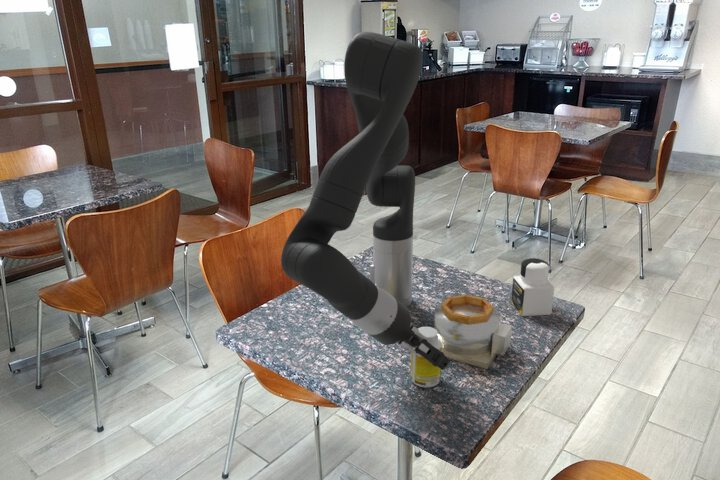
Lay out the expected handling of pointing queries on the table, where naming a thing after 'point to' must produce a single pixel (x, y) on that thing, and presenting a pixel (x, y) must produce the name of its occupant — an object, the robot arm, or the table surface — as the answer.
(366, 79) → the robot arm
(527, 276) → the medicine bottle
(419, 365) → the supplement bottle
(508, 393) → the table surface
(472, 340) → the octagonal rim cylinder base
